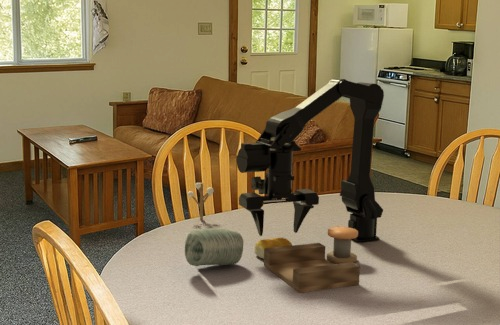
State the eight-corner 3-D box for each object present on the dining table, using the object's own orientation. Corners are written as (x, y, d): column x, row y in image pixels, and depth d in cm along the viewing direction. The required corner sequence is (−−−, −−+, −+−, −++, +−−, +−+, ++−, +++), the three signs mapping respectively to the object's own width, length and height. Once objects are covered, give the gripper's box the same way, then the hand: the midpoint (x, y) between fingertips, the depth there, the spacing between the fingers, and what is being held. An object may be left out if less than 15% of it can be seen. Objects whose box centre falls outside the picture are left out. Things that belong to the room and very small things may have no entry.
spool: (188, 268, 141) (204, 223, 141) (171, 255, 149) (187, 213, 149) (241, 282, 148) (257, 240, 148) (222, 269, 156) (237, 229, 156)
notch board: (318, 259, 157) (319, 242, 156) (358, 284, 140) (359, 266, 140) (263, 265, 152) (264, 248, 151) (299, 292, 135) (299, 273, 134)
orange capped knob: (346, 253, 161) (348, 225, 160) (362, 262, 155) (363, 233, 154) (321, 256, 159) (322, 228, 158) (335, 265, 152) (337, 236, 151)
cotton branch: (185, 222, 187) (185, 180, 185) (205, 219, 191) (205, 177, 189) (198, 228, 181) (198, 184, 179) (218, 225, 185) (219, 182, 183)
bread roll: (299, 255, 157) (299, 239, 157) (267, 262, 153) (267, 246, 152) (280, 245, 164) (280, 230, 164) (248, 252, 160) (248, 236, 159)
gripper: (300, 162, 169) (298, 222, 172) (231, 166, 162) (230, 228, 165) (321, 170, 159) (318, 234, 161) (248, 174, 152) (246, 240, 154)
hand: (278, 233), depth 161 cm, fingers open, 9 cm apart
